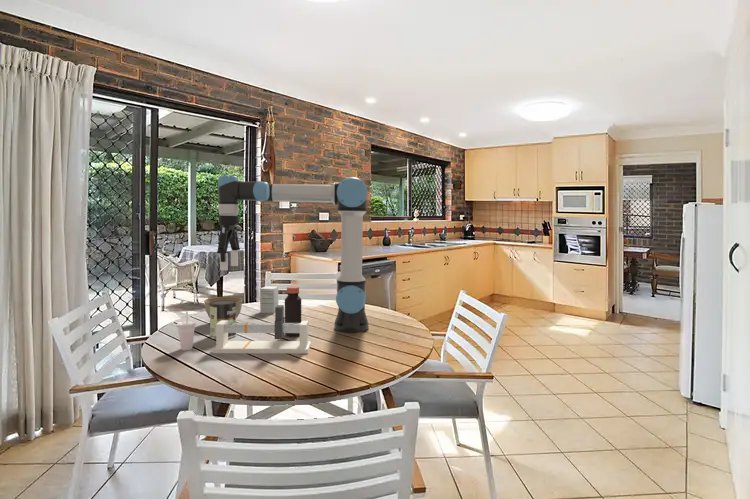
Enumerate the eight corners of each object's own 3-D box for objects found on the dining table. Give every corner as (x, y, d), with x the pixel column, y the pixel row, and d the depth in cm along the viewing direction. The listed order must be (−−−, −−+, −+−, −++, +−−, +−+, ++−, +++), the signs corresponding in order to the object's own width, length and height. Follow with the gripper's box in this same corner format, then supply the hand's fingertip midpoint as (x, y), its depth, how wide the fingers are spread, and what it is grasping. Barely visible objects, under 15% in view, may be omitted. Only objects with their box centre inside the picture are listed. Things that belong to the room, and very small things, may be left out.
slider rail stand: (311, 345, 164) (311, 319, 163) (307, 353, 154) (307, 326, 154) (221, 344, 163) (221, 318, 162) (212, 353, 153) (211, 325, 152)
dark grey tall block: (284, 334, 162) (284, 304, 161) (281, 339, 155) (281, 308, 154) (278, 334, 162) (277, 304, 161) (274, 339, 155) (274, 308, 154)
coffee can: (241, 333, 179) (241, 300, 178) (228, 340, 169) (227, 305, 168) (219, 331, 181) (218, 298, 180) (204, 338, 171) (204, 303, 170)
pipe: (303, 331, 160) (303, 322, 160) (302, 333, 157) (302, 324, 157) (224, 330, 159) (224, 322, 159) (222, 333, 156) (222, 324, 156)
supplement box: (265, 310, 223) (264, 285, 222) (278, 310, 222) (278, 286, 221) (259, 313, 215) (259, 288, 214) (274, 313, 215) (273, 288, 214)
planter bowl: (235, 328, 186) (235, 303, 186) (198, 327, 187) (198, 303, 186) (247, 319, 203) (247, 296, 202) (213, 318, 203) (213, 296, 202)
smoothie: (184, 352, 153) (183, 314, 152) (173, 349, 157) (172, 311, 156) (199, 348, 159) (199, 310, 158) (189, 345, 162) (188, 308, 161)
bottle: (281, 334, 178) (281, 287, 176) (294, 331, 183) (294, 285, 181) (291, 338, 173) (291, 289, 172) (304, 334, 178) (304, 287, 176)
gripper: (228, 214, 183) (229, 264, 185) (207, 215, 158) (208, 272, 160) (246, 215, 183) (247, 264, 185) (228, 215, 158) (229, 272, 160)
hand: (229, 268), depth 172 cm, fingers open, 13 cm apart
